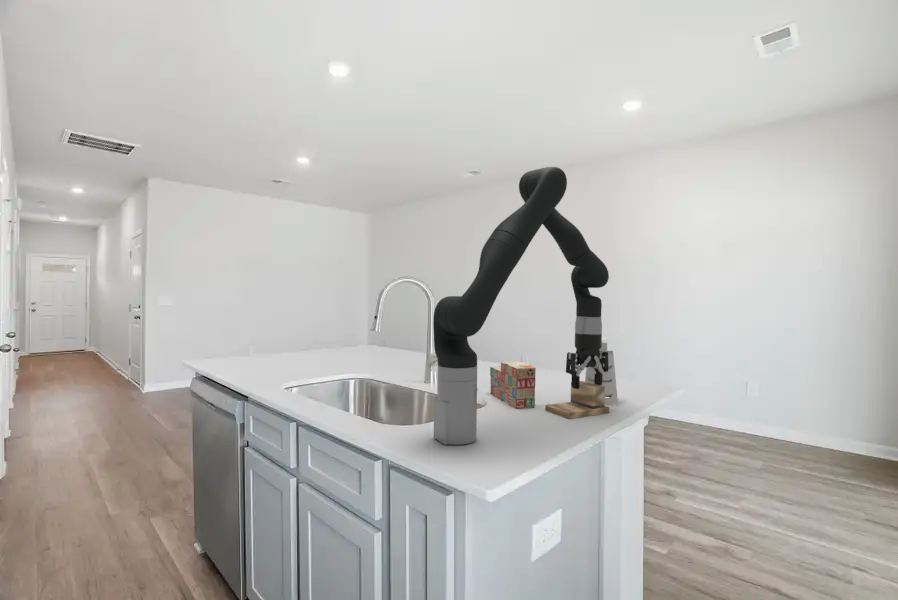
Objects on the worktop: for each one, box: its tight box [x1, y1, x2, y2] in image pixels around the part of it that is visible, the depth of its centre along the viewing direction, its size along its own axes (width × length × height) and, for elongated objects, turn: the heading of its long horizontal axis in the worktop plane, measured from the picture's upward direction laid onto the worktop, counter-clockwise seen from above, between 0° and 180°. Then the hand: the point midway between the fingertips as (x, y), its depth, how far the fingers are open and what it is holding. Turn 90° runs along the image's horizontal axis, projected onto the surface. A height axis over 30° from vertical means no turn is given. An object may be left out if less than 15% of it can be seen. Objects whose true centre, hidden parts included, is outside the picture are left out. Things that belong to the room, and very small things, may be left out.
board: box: [544, 401, 610, 420], centre depth 133 cm, size 15×10×2 cm, turn 117°
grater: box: [584, 337, 619, 407], centre depth 147 cm, size 10×10×20 cm
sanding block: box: [570, 380, 606, 409], centre depth 135 cm, size 4×9×6 cm, turn 27°
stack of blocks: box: [489, 360, 536, 410], centre depth 147 cm, size 21×6×12 cm, turn 16°
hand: (587, 387), depth 135 cm, fingers open, 8 cm apart
